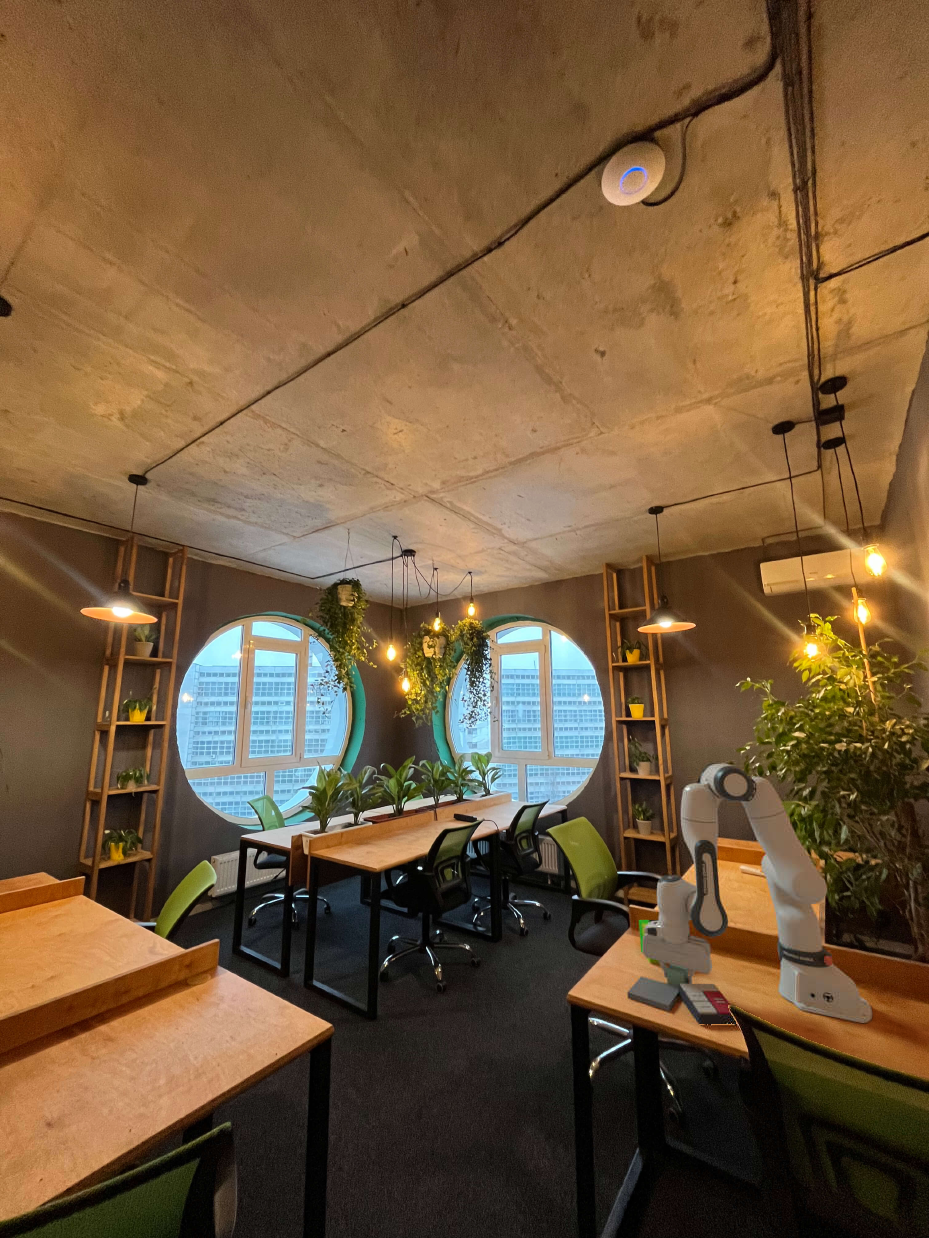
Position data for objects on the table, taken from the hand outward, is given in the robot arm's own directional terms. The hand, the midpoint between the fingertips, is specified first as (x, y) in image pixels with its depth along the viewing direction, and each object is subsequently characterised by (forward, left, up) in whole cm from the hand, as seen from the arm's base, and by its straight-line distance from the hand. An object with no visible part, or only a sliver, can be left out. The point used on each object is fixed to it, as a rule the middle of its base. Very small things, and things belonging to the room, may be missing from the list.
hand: (678, 980), depth 158 cm
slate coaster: (+4, +10, -2) cm, 11 cm away
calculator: (-10, +8, -2) cm, 14 cm away
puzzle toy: (+11, -17, -2) cm, 20 cm away
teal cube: (0, 0, -2) cm, 2 cm away
